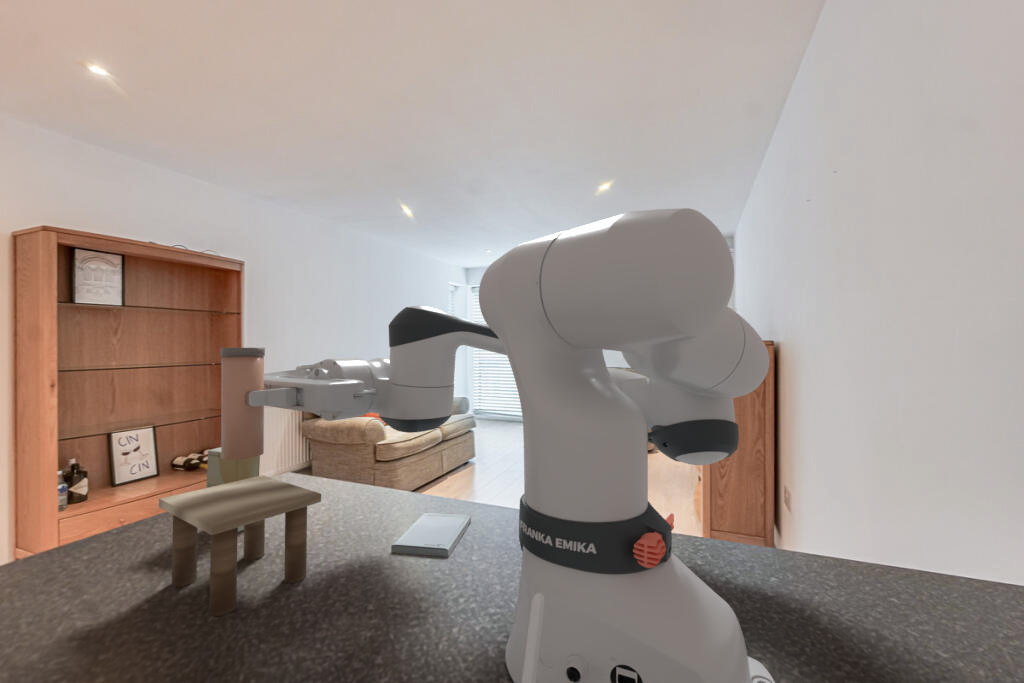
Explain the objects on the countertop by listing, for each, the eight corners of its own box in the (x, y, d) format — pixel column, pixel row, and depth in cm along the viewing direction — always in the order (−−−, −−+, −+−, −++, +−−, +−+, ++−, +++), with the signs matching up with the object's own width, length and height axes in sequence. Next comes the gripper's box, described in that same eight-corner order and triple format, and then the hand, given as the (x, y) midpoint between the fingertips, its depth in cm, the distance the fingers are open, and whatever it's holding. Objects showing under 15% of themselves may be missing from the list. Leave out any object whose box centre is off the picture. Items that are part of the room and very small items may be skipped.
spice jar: (272, 453, 55) (272, 347, 55) (231, 461, 51) (232, 347, 51) (252, 448, 57) (252, 347, 57) (213, 456, 53) (213, 347, 53)
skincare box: (203, 529, 68) (204, 449, 69) (228, 519, 73) (230, 444, 73) (235, 535, 66) (237, 452, 67) (260, 524, 71) (261, 446, 71)
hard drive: (448, 548, 60) (471, 514, 72) (390, 544, 61) (423, 511, 73) (448, 561, 60) (471, 524, 72) (390, 556, 61) (423, 521, 73)
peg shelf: (320, 575, 55) (321, 493, 55) (210, 625, 45) (212, 525, 45) (261, 546, 62) (262, 475, 63) (157, 583, 53) (159, 498, 53)
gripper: (385, 417, 59) (282, 433, 47) (298, 405, 70) (198, 416, 59) (385, 369, 59) (283, 374, 48) (299, 365, 70) (199, 368, 59)
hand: (235, 397), depth 53 cm, fingers closed on spice jar, 4 cm apart
